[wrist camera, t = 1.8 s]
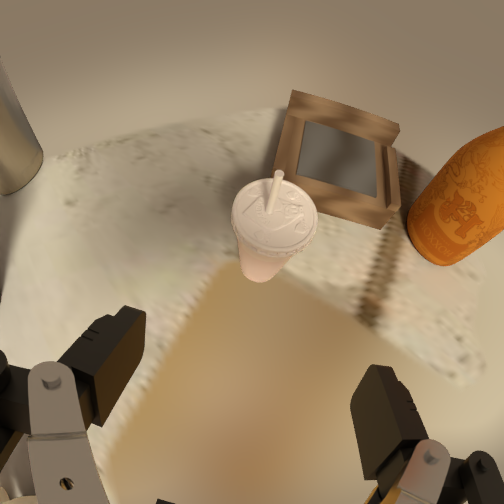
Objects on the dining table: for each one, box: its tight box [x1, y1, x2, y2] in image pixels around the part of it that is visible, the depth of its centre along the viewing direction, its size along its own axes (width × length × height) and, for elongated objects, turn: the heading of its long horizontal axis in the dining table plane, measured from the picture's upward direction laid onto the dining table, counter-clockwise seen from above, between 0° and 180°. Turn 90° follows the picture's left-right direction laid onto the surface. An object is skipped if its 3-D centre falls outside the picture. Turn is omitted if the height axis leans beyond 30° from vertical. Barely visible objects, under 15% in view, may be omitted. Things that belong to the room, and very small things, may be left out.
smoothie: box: [231, 170, 318, 282], centre depth 24 cm, size 6×6×14 cm
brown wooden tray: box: [270, 90, 401, 230], centre depth 34 cm, size 14×12×7 cm
